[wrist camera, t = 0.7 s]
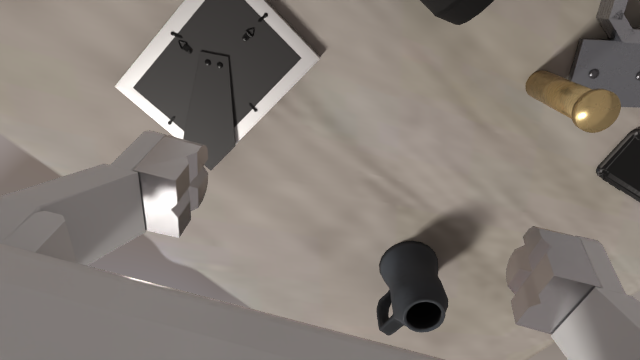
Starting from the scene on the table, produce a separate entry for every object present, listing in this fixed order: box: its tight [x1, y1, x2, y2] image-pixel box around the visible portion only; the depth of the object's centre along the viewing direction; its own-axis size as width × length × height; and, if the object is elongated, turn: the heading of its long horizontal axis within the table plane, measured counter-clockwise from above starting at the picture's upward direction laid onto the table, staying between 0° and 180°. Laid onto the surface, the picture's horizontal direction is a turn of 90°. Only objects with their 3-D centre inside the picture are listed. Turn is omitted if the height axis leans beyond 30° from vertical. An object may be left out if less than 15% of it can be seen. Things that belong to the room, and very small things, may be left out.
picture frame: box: [115, 0, 320, 170], centre depth 54 cm, size 16×3×21 cm
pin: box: [526, 70, 621, 133], centre depth 49 cm, size 4×4×13 cm
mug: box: [377, 241, 448, 335], centre depth 62 cm, size 12×9×11 cm
